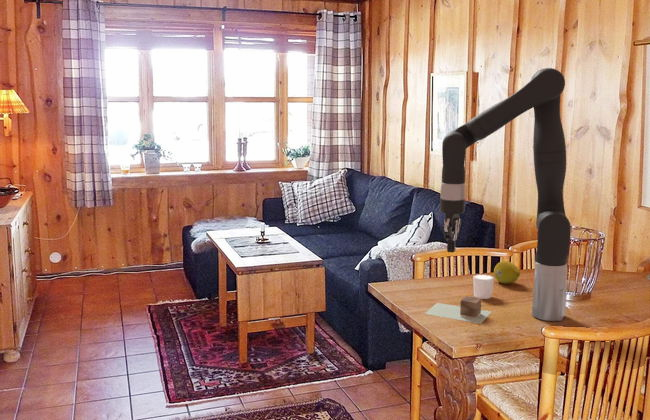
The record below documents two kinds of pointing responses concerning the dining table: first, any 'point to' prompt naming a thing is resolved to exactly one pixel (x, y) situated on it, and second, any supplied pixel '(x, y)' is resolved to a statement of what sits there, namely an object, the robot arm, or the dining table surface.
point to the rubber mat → (455, 313)
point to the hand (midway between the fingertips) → (451, 251)
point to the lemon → (506, 272)
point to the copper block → (470, 307)
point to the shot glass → (483, 286)
